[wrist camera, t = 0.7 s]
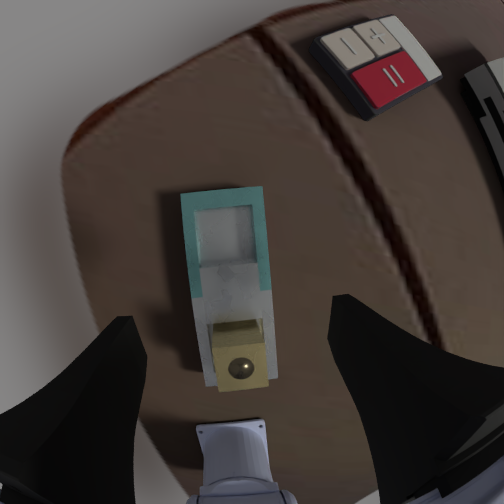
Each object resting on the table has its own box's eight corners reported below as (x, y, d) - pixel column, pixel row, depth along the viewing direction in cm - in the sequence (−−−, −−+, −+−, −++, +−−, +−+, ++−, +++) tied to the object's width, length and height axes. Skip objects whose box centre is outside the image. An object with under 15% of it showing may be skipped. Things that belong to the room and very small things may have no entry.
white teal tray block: (272, 365, 29) (277, 377, 26) (206, 373, 28) (206, 386, 25) (257, 190, 27) (262, 186, 24) (184, 197, 26) (180, 193, 24)
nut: (258, 355, 27) (268, 386, 21) (218, 360, 27) (219, 392, 21) (255, 318, 27) (264, 342, 21) (213, 323, 26) (211, 348, 20)
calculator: (314, 34, 23) (395, 10, 23) (305, 53, 27) (382, 25, 27) (378, 113, 24) (447, 75, 24) (361, 125, 29) (430, 85, 29)
